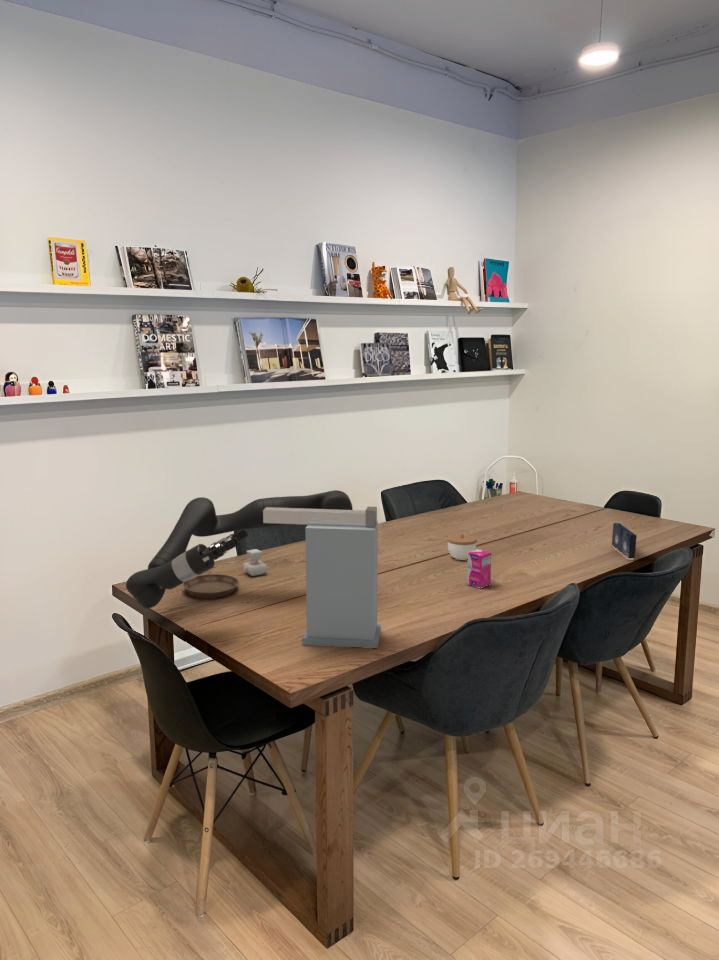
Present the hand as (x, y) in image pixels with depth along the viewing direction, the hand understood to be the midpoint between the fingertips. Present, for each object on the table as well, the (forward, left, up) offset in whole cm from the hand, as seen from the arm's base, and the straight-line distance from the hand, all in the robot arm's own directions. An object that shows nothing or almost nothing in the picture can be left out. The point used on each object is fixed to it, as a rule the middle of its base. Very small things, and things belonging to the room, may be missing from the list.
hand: (242, 536), depth 201 cm
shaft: (+15, +15, +4) cm, 22 cm away
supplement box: (+12, +81, -28) cm, 87 cm away
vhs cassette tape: (+21, +152, -28) cm, 156 cm away
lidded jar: (-13, +99, -28) cm, 104 cm away
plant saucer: (-38, +9, -28) cm, 48 cm away
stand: (+19, +19, -28) cm, 39 cm away
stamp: (-44, +29, -28) cm, 60 cm away
